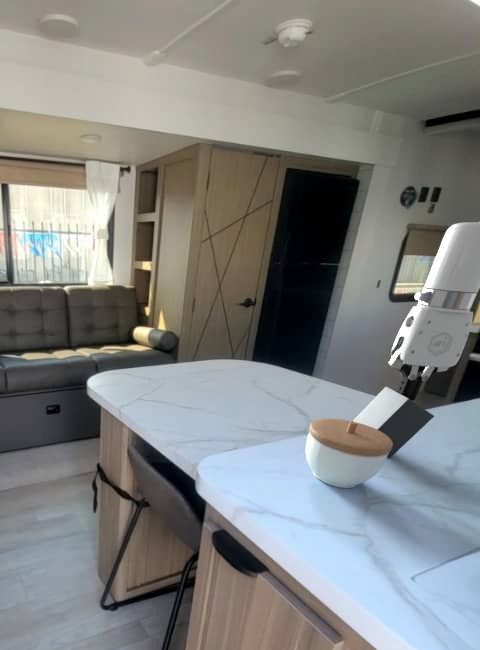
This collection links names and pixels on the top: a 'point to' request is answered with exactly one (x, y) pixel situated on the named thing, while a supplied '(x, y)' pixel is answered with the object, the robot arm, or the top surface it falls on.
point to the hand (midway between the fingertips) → (404, 397)
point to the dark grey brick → (394, 417)
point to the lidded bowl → (345, 451)
